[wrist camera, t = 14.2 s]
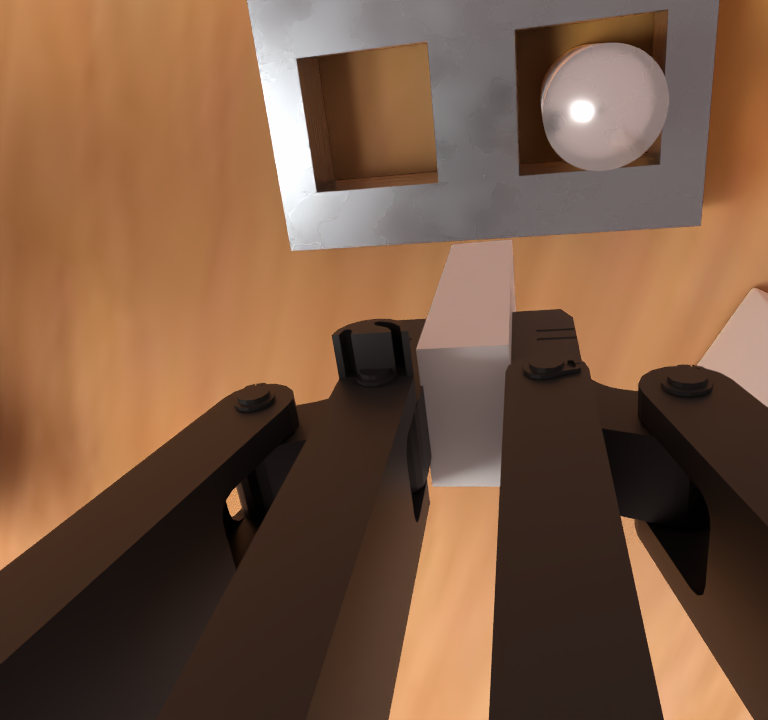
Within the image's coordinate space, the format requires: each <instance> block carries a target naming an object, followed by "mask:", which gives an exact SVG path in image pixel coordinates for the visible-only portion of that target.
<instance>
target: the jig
mask: <svg viewBox="0 0 768 720" xmlns="http://www.w3.org/2000/svg"><path fill="white" fill-rule="evenodd" d="M247 4H248V9H249V15H250V21H251V26H252V32H253V38H254V43H255V49H256V55H257V60H258V66H259V72H260V77H261V83H262V89H263V94H264V100H265V106H266V111H267V117H268V123H269V128H270V134H271V140H272V145H273V151H274V157H275V163H276V168H277V174H278V180H279V185H280V191H281V197H282V202H283V208H284V214H285V219H286V225H287V231H288V236H289V242H290V248H291V251H300V250H316V249H332V248H349V247H365V246H381V245H397V244H414V243H430V242H446V241H462V240H478V239H495V238H511V237H527V236H543V235H560V234H576V233H592V232H608V231H625V230H641V229H657V228H673V227H689V226H701V217H702V205H703V192H704V180H705V168H706V156H707V144H708V132H709V120H710V108H711V95H712V83H713V71H714V59H715V47H716V35H717V23H718V10H719V0H247ZM651 13H655V14H654V35H653V56H652V58H653V59H654V60H655V61H656V62H657V64H658V65H659V67H660V68H661V70H662V72H663V74H664V76H665V78H666V82H667V85H668V91H669V107H668V113H667V117H666V121H665V123H664V126H663V128H662V130H661V132H660V134H659V136H658V137H657V139H656V140H655V141H654V143H653V144H652V145H651V146H650V147H649V149H648V153H646V154H642V155H641V156H640V157H638V158H637V159H635V160H634V161H632V162H630V163H629V164H627V165H624V166H622V167H619V168H616V169H612V170H606V171H590V170H585V169H581V168H578V167H576V166H573V165H571V164H570V163H568V162H566V161H554V162H542V163H531V164H520V143H519V109H518V75H517V41H516V31H522V30H530V29H537V28H545V27H552V26H560V25H567V24H575V23H583V22H590V21H598V20H605V19H613V18H620V17H628V16H636V15H643V14H651ZM424 43H428V55H429V68H430V81H431V93H432V106H433V118H434V131H435V144H436V156H437V169H438V172H427V173H415V174H403V175H392V176H380V177H369V178H357V179H346V180H335V176H334V169H333V162H332V155H331V148H330V141H329V134H328V127H327V120H326V113H325V106H324V99H323V92H322V85H321V78H320V71H319V64H318V57H325V56H333V55H340V54H348V53H355V52H363V51H371V50H378V49H386V48H393V47H401V46H408V45H416V44H424Z"/></svg>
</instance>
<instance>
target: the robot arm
mask: <svg viewBox="0 0 768 720" xmlns="http://www.w3.org/2000/svg"><path fill="white" fill-rule="evenodd" d="M332 339H333V345H334V351H335V356H336V362H337V368H338V373H339V381H338V383H337V384H336V386H335V388H334V390H333V392H332V394H331V396H330V397H329V399H326V400H322V401H318V402H312V403H307V404H302V405H297V406H296V404H295V399H294V394H293V391H292V390H291V389H290V388H288V387H287V386H283V385H279V384H266V383H260V384H257V385H256V386H255V384H253V385H249V386H246V387H245V388H244V389H241V390H239V391H236V392H234V393H232V394H230V395H229V396H227V397H225V398H224V399H222V400H221V401H220V402H218V403H217V404H216V405H215V406H213V407H212V408H211V409H209V410H208V411H207V412H205V413H204V414H203V415H202V416H200V417H199V418H198V419H196V420H195V421H194V422H193V423H191V424H190V425H189V426H187V427H186V428H185V429H183V430H182V431H181V432H180V433H178V434H177V435H176V436H174V437H173V438H172V439H170V440H169V441H168V442H167V443H165V444H164V445H163V446H161V447H160V448H159V449H157V450H156V451H155V452H154V453H152V454H151V455H150V456H148V457H147V458H146V459H145V460H143V461H142V462H141V463H139V464H138V465H137V466H135V467H134V468H133V469H132V470H130V471H129V472H128V473H126V474H125V475H124V476H122V477H121V478H120V479H119V480H117V481H116V482H115V483H113V484H112V485H111V486H109V487H108V488H107V489H106V490H104V491H103V492H102V493H100V494H99V495H98V496H97V497H95V498H94V499H93V500H91V501H90V502H89V503H87V504H86V505H85V506H84V507H82V508H81V509H80V510H78V511H77V512H76V513H74V514H73V515H72V516H71V517H69V518H68V519H67V520H65V521H64V522H63V523H61V524H60V525H59V526H58V527H56V528H55V529H54V530H52V531H51V532H50V533H49V534H47V535H46V536H45V537H43V538H42V539H41V540H39V541H38V542H37V543H36V544H34V545H33V546H32V547H30V548H29V549H28V550H26V551H25V552H24V553H23V554H21V555H20V556H19V557H17V558H16V559H15V560H13V561H12V562H11V563H10V564H8V565H7V566H6V567H4V568H3V569H2V570H1V571H0V720H388V719H389V714H390V709H391V703H392V698H393V693H394V688H395V682H396V677H397V672H398V667H399V662H400V656H401V651H402V646H403V641H404V635H405V630H406V625H407V620H408V615H409V609H410V604H411V599H412V594H413V588H414V583H415V578H416V573H417V568H418V562H419V557H420V552H421V547H422V541H423V536H424V531H425V526H426V520H427V515H428V510H429V505H430V500H429V492H428V484H427V476H428V471H429V467H430V468H431V476H432V484H433V487H500V497H499V518H498V539H497V560H496V581H495V602H494V623H493V644H492V665H491V686H490V707H489V720H664V718H663V714H662V709H661V704H660V699H659V695H658V690H657V685H656V681H655V676H654V671H653V667H652V662H651V657H650V653H649V648H648V643H647V639H646V634H645V629H644V624H643V620H642V615H641V610H640V606H639V601H638V596H637V592H636V587H635V582H634V578H633V573H632V568H631V564H630V559H629V554H628V549H627V545H626V540H625V535H624V531H623V526H622V521H621V517H620V516H623V517H628V518H633V519H635V528H636V532H637V535H638V537H639V538H640V540H641V541H642V543H643V545H644V546H645V548H646V549H647V551H648V553H649V554H650V556H651V557H652V559H653V561H654V562H655V564H656V565H657V567H658V568H659V570H660V572H661V573H662V575H663V576H664V578H665V580H666V581H667V583H668V584H669V586H670V587H671V589H672V591H673V592H674V594H675V595H676V597H677V599H678V600H679V602H680V603H681V605H682V606H683V608H684V610H685V611H686V613H687V614H688V616H689V618H690V619H691V621H692V622H693V624H694V625H695V627H696V629H697V630H698V632H699V633H700V635H701V637H702V638H703V640H704V641H705V643H706V644H707V646H708V648H709V649H710V651H711V652H712V654H713V656H714V657H715V659H716V660H717V662H718V664H719V665H720V667H721V668H722V670H723V671H724V673H725V675H726V676H727V678H728V679H729V681H730V683H731V684H732V686H733V687H734V689H735V690H736V692H737V694H738V695H739V697H740V698H741V700H742V702H743V703H744V705H745V706H746V708H747V709H748V711H749V713H750V714H751V716H752V717H753V719H754V720H768V407H767V406H765V405H764V404H763V403H762V402H760V401H759V400H758V399H756V398H755V397H754V396H753V395H751V394H750V393H749V392H748V391H746V390H745V389H744V388H743V387H741V386H740V385H739V384H738V383H736V382H735V381H734V380H732V379H731V378H729V377H727V376H725V375H724V374H722V373H720V372H717V371H713V370H710V369H706V368H704V367H702V366H695V365H692V367H691V366H690V365H678V366H672V367H664V368H660V369H656V370H652V371H650V372H648V373H647V374H645V375H643V376H642V377H641V379H640V382H639V384H638V391H630V390H623V389H617V388H612V387H608V386H605V385H602V384H599V383H597V382H595V381H593V380H592V379H591V376H590V371H589V368H588V367H587V365H586V364H585V362H583V361H582V360H581V355H580V351H579V346H578V341H577V336H576V331H575V326H574V321H573V317H571V316H570V315H568V314H567V313H565V312H564V311H563V310H561V309H556V310H539V311H521V312H516V302H515V284H514V265H513V246H512V239H511V240H499V241H487V242H474V243H462V244H452V246H451V249H450V252H449V255H448V258H447V260H446V263H445V266H444V269H443V272H442V275H441V278H440V281H439V284H438V287H437V290H436V293H435V296H434V298H433V301H432V304H431V307H430V310H429V313H428V316H427V319H415V320H392V319H372V320H365V321H360V322H356V323H353V324H349V325H347V326H345V327H343V328H340V329H338V330H337V331H336V332H335V333H334V334H333V335H332ZM235 487H236V488H237V491H238V495H239V499H240V503H241V506H242V509H241V510H240V511H239V512H238V513H237V514H236V515H235V516H233V517H231V515H230V514H229V511H228V507H227V504H226V499H227V498H228V496H229V495H230V493H231V492H232V490H233V489H234V488H235Z"/></svg>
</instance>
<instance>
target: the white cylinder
mask: <svg viewBox="0 0 768 720" xmlns="http://www.w3.org/2000/svg"><path fill="white" fill-rule="evenodd" d="M540 104H541V112H542V119H543V125H544V130H545V133H546V136H547V139H548V141H549V143H550V145H551V146H552V148H553V149H554V150H555V152H556V153H557V154H558V155H559V156H560V157H561V158H562V159H564V160H565V161H566V162H568V163H570V164H571V165H573V166H576V167H578V168H581V169H585V170H590V171H606V170H612V169H616V168H619V167H622V166H624V165H627V164H629V163H630V162H632V161H634V160H635V159H637V158H638V157H640V156H641V155H642V154H643V153H644V152H646V151H647V150H648V149H649V147H650V146H651V145H652V144H653V143H654V141H655V140H656V139H657V137H658V136H659V134H660V132H661V130H662V128H663V126H664V123H665V121H666V117H667V113H668V107H669V91H668V85H667V82H666V78H665V76H664V74H663V72H662V70H661V68H660V67H659V65H658V64H657V62H656V61H655V60H654V59H653V58H652V57H651V56H650V55H648V54H647V53H646V52H644V51H643V50H641V49H639V48H637V47H634V46H632V45H628V44H624V43H597V44H585V45H580V46H577V47H574V48H572V49H570V50H568V51H567V52H565V53H564V54H562V55H561V56H560V57H559V58H558V59H557V60H556V61H555V62H554V63H553V64H552V65H551V67H550V68H549V70H548V71H547V73H546V75H545V77H544V80H543V83H542V86H541V92H540Z"/></svg>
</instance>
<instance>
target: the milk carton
mask: <svg viewBox="0 0 768 720" xmlns="http://www.w3.org/2000/svg"><path fill="white" fill-rule="evenodd" d="M697 366H702V367H704V368H706V369H710V370H713V371H717V372H720V373H722V374H724V375H725V376H727V377H729V378H731V379H732V380H734V381H735V382H736V383H738V384H739V385H740V386H741V387H743V388H744V389H745V390H746V391H748V392H749V393H750V394H751V395H753V396H754V397H755V398H756V399H758V400H759V401H760V402H762V403H763V404H764V405H765V406H767V407H768V293H766V292H764V291H762V290H759V289H757V288H753V289H751V290H750V292H749V293H748V294H747V296H746V297H745V298H744V300H743V301H742V302H741V304H740V305H739V307H738V308H737V309H736V311H735V312H734V314H733V315H732V317H731V318H730V319H729V321H728V322H727V324H726V325H725V326H724V328H723V329H722V331H721V332H720V333H719V335H718V336H717V338H716V339H715V340H714V342H713V343H712V345H711V346H710V347H709V349H708V350H707V352H706V353H705V354H704V356H703V357H702V359H701V360H700V361H699V363H698V364H697Z"/></svg>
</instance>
